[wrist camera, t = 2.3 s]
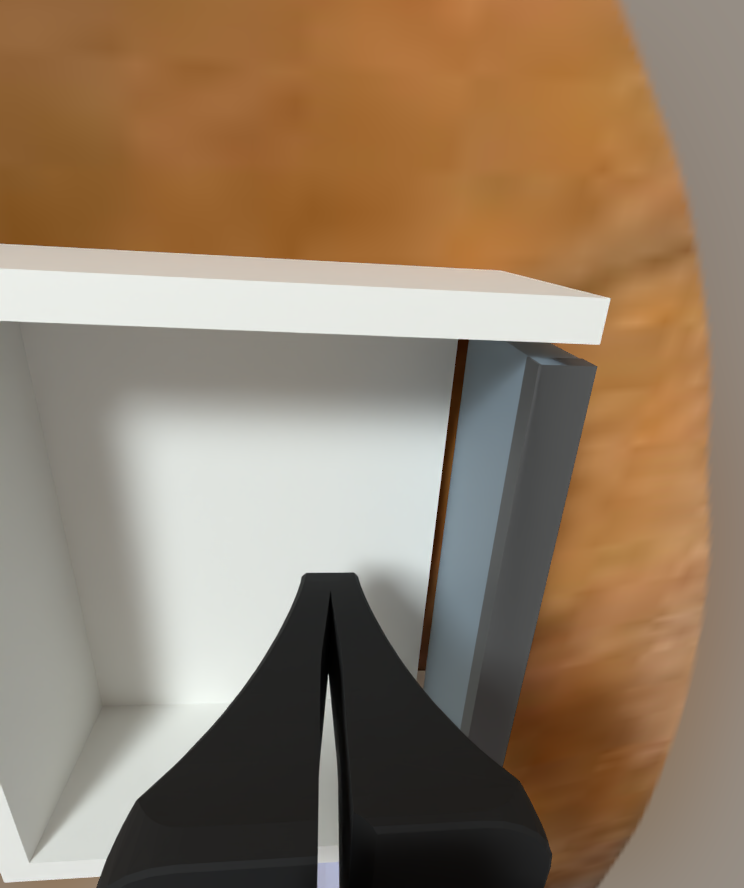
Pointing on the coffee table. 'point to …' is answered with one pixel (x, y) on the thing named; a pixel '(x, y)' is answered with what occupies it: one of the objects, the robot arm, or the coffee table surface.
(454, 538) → the door panel
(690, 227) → the coffee table surface
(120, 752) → the white cubby shelf
